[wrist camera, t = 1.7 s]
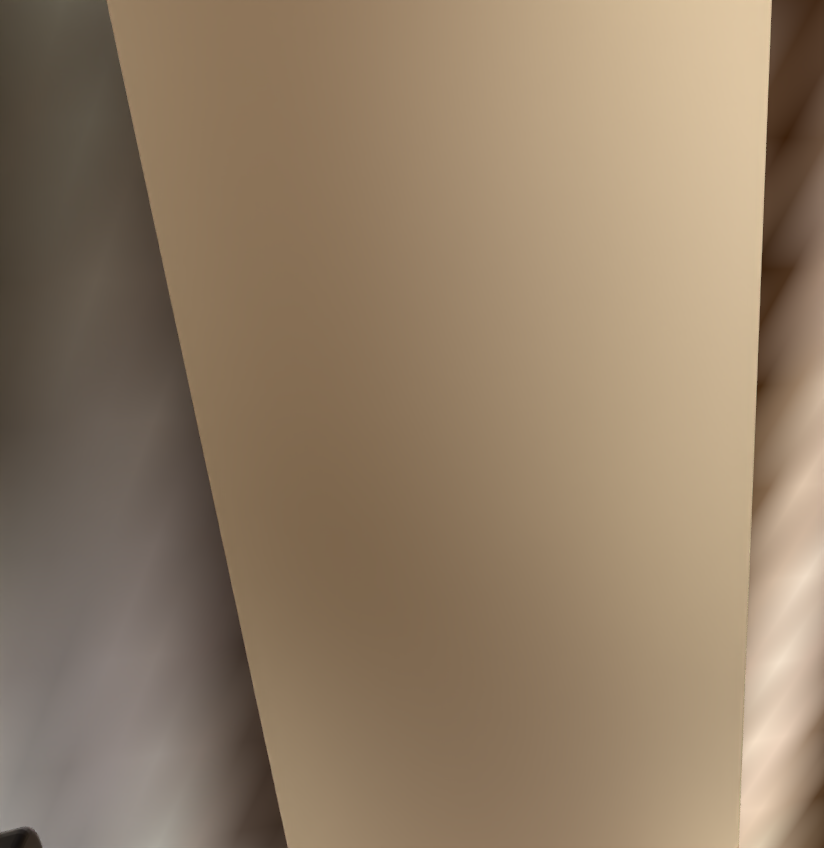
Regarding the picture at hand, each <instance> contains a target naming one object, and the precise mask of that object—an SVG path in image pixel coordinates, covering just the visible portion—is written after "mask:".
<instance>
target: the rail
mask: <svg viewBox="0 0 824 848" xmlns="http://www.w3.org/2000/svg"><path fill="white" fill-rule="evenodd" d="M106 1H107V6H108V10H109V15H110V20H111V24H112V29H113V34H114V38H115V43H116V48H117V52H118V57H119V62H120V66H121V71H122V76H123V80H124V85H125V90H126V94H127V99H128V104H129V108H130V113H131V118H132V122H133V127H134V132H135V136H136V141H137V146H138V150H139V155H140V160H141V164H142V169H143V174H144V179H145V183H146V188H147V193H148V197H149V202H150V207H151V211H152V216H153V221H154V225H155V230H156V235H157V239H158V244H159V249H160V253H161V258H162V263H163V267H164V272H165V277H166V281H167V286H168V291H169V295H170V300H171V305H172V309H173V314H174V319H175V323H176V328H177V333H178V337H179V342H180V347H181V351H182V356H183V361H184V365H185V370H186V375H187V379H188V384H189V389H190V393H191V398H192V403H193V407H194V412H195V417H196V421H197V426H198V431H199V435H200V440H201V445H202V449H203V454H204V459H205V463H206V468H207V473H208V477H209V482H210V487H211V491H212V496H213V501H214V505H215V510H216V515H217V519H218V524H219V529H220V533H221V538H222V543H223V547H224V552H225V557H226V561H227V566H228V571H229V575H230V580H231V585H232V589H233V594H234V599H235V603H236V608H237V613H238V617H239V622H240V627H241V631H242V636H243V641H244V645H245V650H246V655H247V659H248V664H249V669H250V673H251V678H252V683H253V687H254V692H255V697H256V701H257V706H258V711H259V715H260V720H261V725H262V729H263V734H264V739H265V743H266V748H267V753H268V757H269V762H270V767H271V771H272V776H273V781H274V785H275V790H276V795H277V799H278V804H279V809H280V813H281V818H282V823H283V827H284V832H285V837H286V841H287V846H288V848H739V824H740V798H741V773H742V747H743V722H744V696H745V670H746V645H747V619H748V594H749V568H750V542H751V517H752V491H753V466H754V440H755V415H756V389H757V363H758V338H759V312H760V287H761V261H762V235H763V210H764V184H765V159H766V133H767V107H768V82H769V56H770V31H771V5H772V0H106Z"/></svg>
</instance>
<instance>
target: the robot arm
mask: <svg viewBox="0 0 824 848" xmlns="http://www.w3.org/2000/svg"><path fill="white" fill-rule="evenodd" d="M0 848H43V847H42V845H41V842H40V839H39V837H38V835H37V833H36V832H35V831H34V829H32V828H30V827H20V828H17V829H13V830H9V831H5V832H1V833H0Z"/></svg>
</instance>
